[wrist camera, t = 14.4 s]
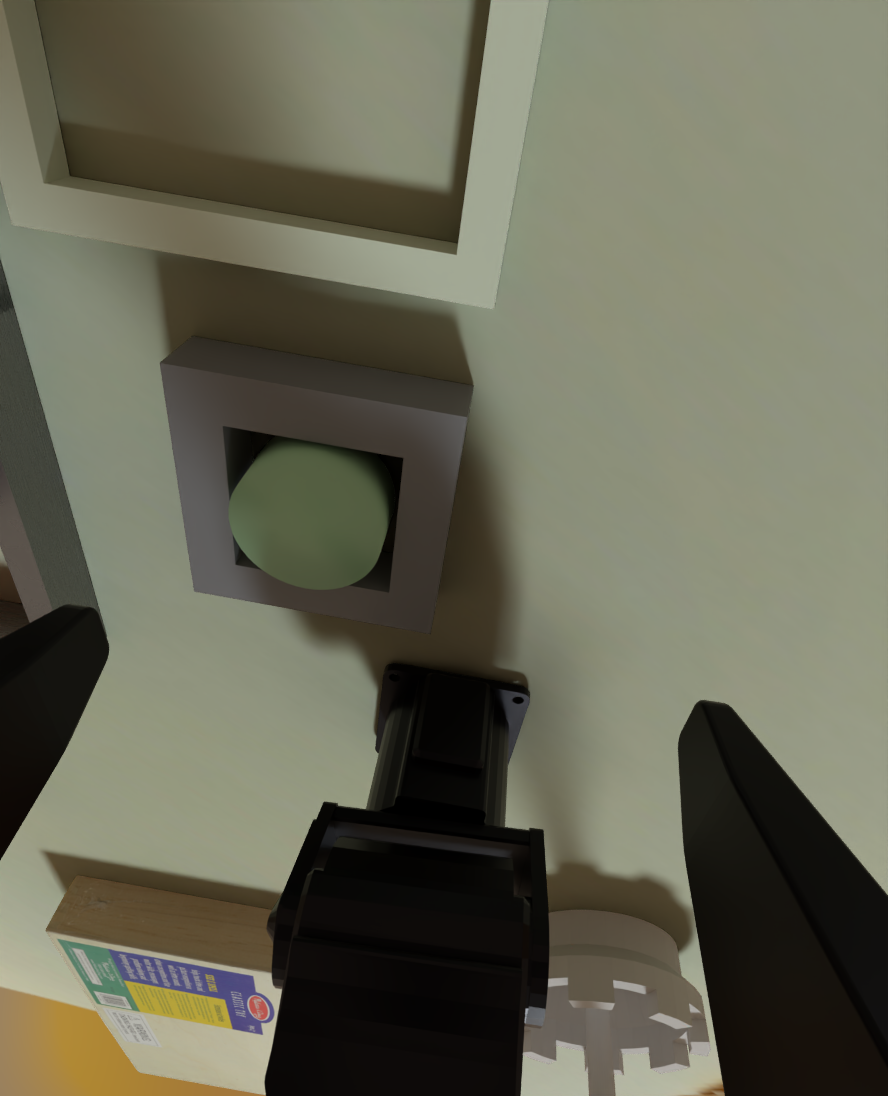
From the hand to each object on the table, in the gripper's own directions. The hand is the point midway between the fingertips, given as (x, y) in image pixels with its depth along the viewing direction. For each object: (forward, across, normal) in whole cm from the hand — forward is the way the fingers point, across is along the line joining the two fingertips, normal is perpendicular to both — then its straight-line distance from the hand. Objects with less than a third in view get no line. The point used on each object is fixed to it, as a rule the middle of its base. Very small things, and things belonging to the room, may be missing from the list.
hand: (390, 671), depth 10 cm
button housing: (+13, +4, +5) cm, 14 cm away
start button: (+12, +4, +5) cm, 14 cm away
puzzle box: (+14, +13, +60) cm, 63 cm away
